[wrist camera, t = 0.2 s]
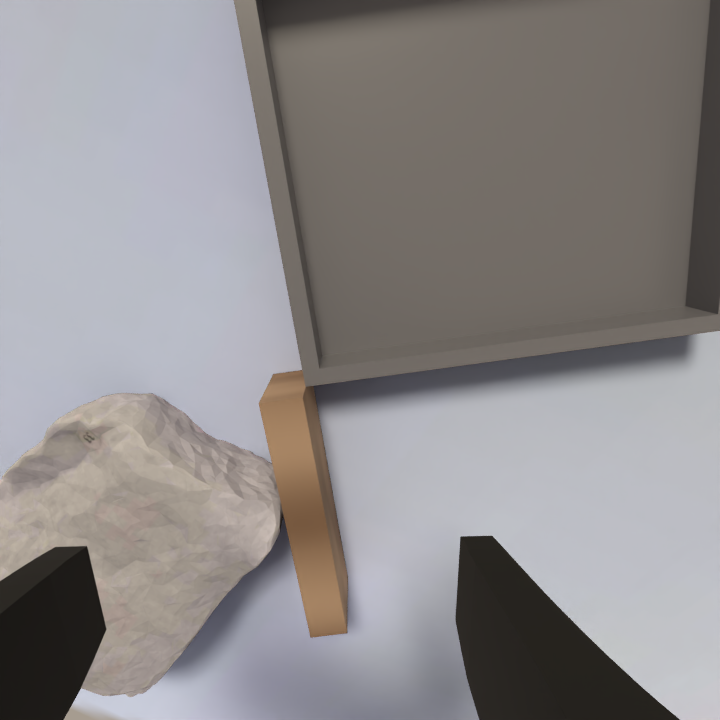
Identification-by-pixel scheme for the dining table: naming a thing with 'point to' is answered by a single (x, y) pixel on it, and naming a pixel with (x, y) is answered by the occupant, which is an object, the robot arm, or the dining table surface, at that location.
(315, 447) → the pair of wooden bars
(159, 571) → the stone block
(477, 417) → the dining table surface
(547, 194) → the tray
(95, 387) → the dining table surface
